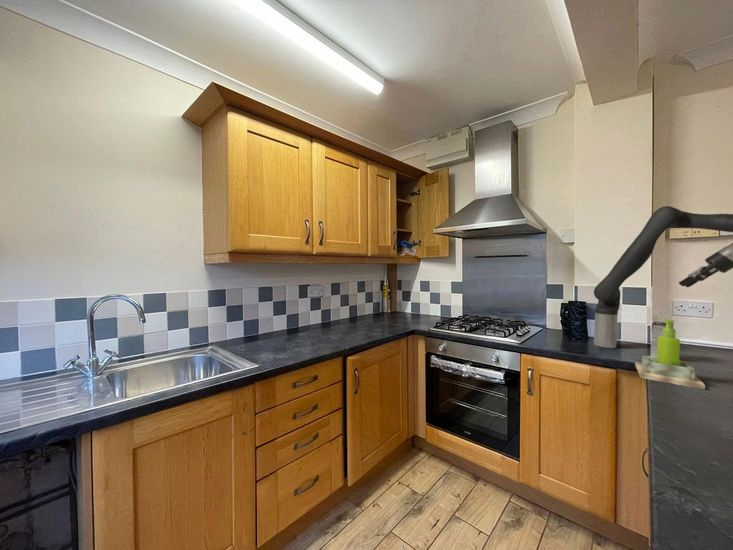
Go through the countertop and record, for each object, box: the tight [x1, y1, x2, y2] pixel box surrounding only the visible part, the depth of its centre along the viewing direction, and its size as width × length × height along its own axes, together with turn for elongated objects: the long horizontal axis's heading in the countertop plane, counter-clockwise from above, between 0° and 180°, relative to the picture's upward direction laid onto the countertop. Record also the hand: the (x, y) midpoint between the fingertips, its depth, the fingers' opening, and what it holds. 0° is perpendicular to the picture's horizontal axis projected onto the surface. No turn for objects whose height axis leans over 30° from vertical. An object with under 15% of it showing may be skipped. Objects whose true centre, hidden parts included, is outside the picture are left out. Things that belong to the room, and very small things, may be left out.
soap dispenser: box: [657, 318, 681, 366], centre depth 112 cm, size 6×7×20 cm
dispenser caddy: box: [634, 355, 706, 390], centre depth 112 cm, size 16×18×6 cm
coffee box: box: [650, 321, 674, 357], centre depth 136 cm, size 9×6×16 cm
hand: (682, 285), depth 123 cm, fingers open, 8 cm apart
